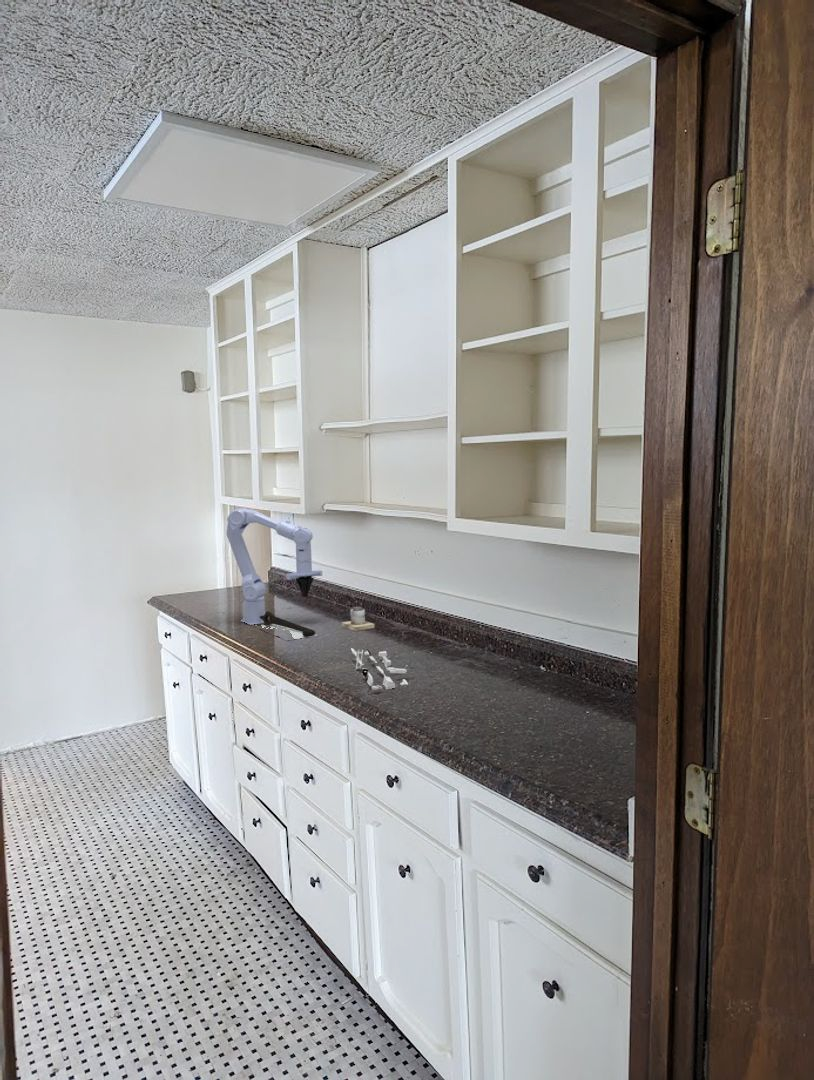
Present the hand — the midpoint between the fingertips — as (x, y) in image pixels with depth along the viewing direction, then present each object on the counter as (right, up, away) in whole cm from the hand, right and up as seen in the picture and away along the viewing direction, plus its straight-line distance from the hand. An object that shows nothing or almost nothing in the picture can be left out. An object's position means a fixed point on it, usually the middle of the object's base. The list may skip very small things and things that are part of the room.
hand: (304, 596), depth 267 cm
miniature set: (+31, -18, -64) cm, 73 cm away
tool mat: (-6, -12, -11) cm, 17 cm away
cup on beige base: (+20, -11, -6) cm, 24 cm away
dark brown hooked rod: (-6, -12, -10) cm, 17 cm away
